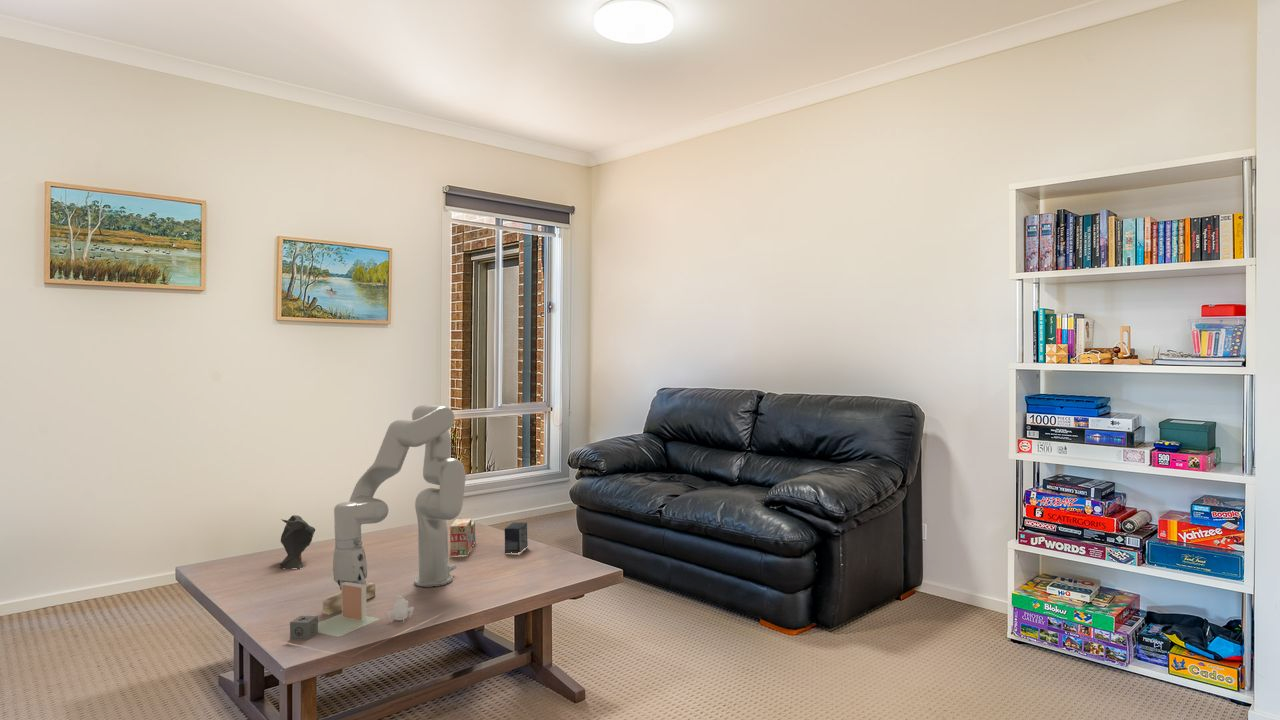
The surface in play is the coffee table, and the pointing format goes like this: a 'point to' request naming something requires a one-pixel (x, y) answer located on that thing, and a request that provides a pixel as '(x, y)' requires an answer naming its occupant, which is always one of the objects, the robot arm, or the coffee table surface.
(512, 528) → the small box
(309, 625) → the dice cube
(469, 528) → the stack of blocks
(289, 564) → the dark grey sculpture
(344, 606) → the cream tile
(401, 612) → the rocket toy
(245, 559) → the coffee table surface
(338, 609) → the tan wavy bar
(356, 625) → the sage mat
